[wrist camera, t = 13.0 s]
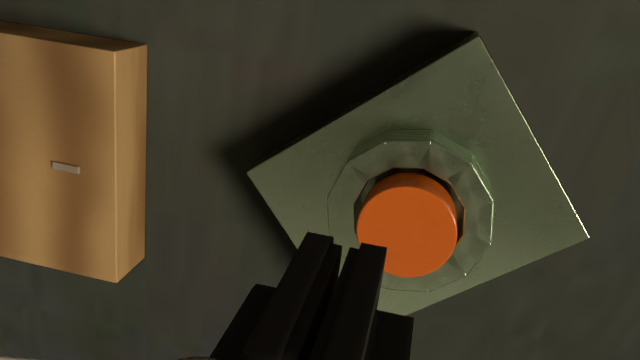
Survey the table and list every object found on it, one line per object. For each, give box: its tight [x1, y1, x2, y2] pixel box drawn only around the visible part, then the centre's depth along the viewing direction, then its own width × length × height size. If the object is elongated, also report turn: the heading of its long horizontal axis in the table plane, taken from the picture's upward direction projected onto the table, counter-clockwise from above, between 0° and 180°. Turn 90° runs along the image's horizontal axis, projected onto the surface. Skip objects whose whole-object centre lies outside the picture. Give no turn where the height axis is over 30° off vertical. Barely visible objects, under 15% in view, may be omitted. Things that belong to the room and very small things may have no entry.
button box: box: [247, 31, 590, 316], centre depth 26 cm, size 12×10×4 cm
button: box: [356, 173, 457, 277], centre depth 23 cm, size 4×4×2 cm
